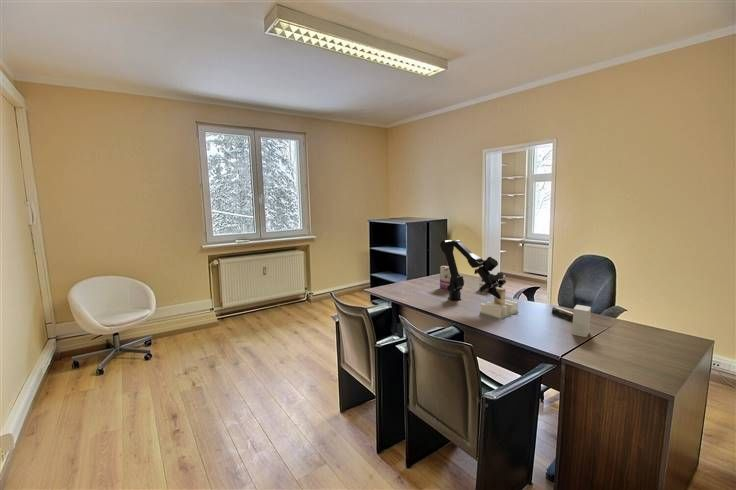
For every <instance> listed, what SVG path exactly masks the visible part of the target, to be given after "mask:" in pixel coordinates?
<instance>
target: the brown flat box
mask: <svg viewBox="0 0 736 490" xmlns="http://www.w3.org/2000/svg"><path fill="white" fill-rule="evenodd" d="M551 314H552V315H554V316H558V317H560V318H563V319H566V320H568V321H571V322H573V312H572V311H570V310H567V309H563V308H560V307H559V306H553V307H552V308H551Z"/></svg>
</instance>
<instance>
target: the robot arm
mask: <svg viewBox="0 0 736 490" xmlns="http://www.w3.org/2000/svg"><path fill="white" fill-rule="evenodd" d="M439 246H440V250H441V251H442V252H443V253H444V255H445V258H446V262H447V266H449V270H450V274H451V278H450V285H449V286H448V287H447V290H446V291H448V297H447V299H448V300H450V301H453V302H454V301H461V300H462V299H461V297H462V296H461V295H462V292H461V290H463V287H464V285H465V280H464V276H463V275H460V274H459V270H458V267H457V263H456V260H455V255H454V250H455V248H456V250H458V252H459V253H460V254H462V256H463V257H464V258H465V259H466V260H467V264H469V266H470V267H471V268H473V269H474V275H477V274H478V276H479V275H480V277H481V278H482V280H481V281H482V282H485V284H484V285H483V286H482V287H480V289H479V292H480V293H481V294H482V293H485V292H486V293H487V294H490V295H491V296H493V297H494V296H495V297H497V298H498V299H500V298H501V297H500V295H499V294H498V292H497V291H496V287H500V288H503V286H504V285H505V284H506V283H507V280H506V279H505V278H504V273H503V272H502V271H499V272H497V274H494V273H490V272H492V271H493V270H495V268H496V267H497V266H498V265H499V262H498V261H497V259H495V258H493V257H492V256H489V257H487V258H486V259H485V260H484V259H483V258H482V257H480V256H479V255H478V254H475V253H473V252H472V251H471V250H470V249H469V248H468V247H467V246H466V245H465V244H463V242H462V241H461V239H460V240H459V239H455V240H451V239H447V240H441V242H440V244H439ZM486 289H487V290H488V291H485V290H486Z"/></svg>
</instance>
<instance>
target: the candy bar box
mask: <svg viewBox="0 0 736 490" xmlns="http://www.w3.org/2000/svg"><path fill="white" fill-rule="evenodd" d="M439 267H440V268H439V289H441V290H446V291H448V290H447V287H448V286H449V285H450V278H451V274H450V270H449V266H448V265H441V266H439Z"/></svg>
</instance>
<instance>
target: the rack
mask: <svg viewBox="0 0 736 490" xmlns="http://www.w3.org/2000/svg"><path fill="white" fill-rule="evenodd" d="M518 309H519V302H518V301H517V302H516V301H512V300H509V299H506V298H505V306H503V305H499V304H495V303H494V299H492V302H491V301H487V302H486V304H485V303H480V310H479V313H480V314H482V315H486V316H488V317H493V318H496V319H498V320H501V319H504V318H506V317H510V316H512V315H514V314H517V313H519V310H518Z"/></svg>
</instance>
